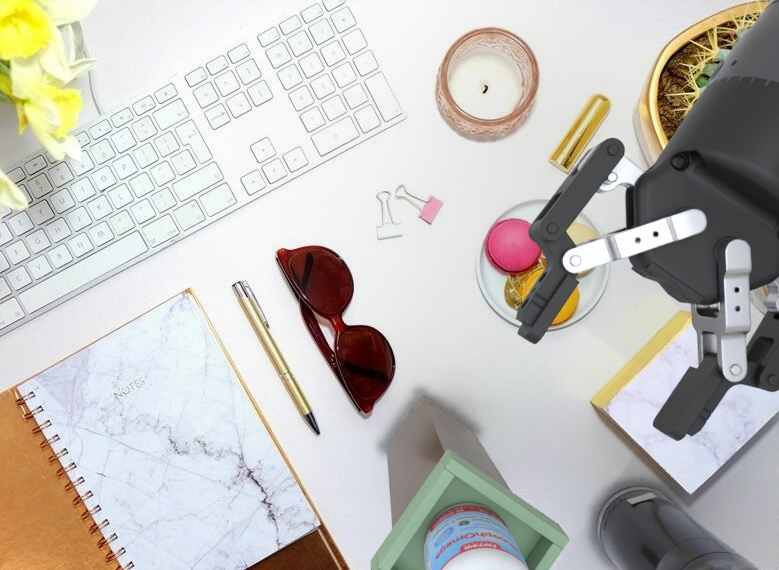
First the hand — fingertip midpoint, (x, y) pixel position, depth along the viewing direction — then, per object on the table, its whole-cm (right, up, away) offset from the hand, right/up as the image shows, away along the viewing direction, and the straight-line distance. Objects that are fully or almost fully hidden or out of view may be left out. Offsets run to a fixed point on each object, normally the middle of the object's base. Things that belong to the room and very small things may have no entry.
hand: (595, 386), depth 33 cm
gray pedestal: (-6, -12, +40) cm, 42 cm away
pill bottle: (-5, -12, +11) cm, 18 cm away
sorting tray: (-5, -13, +12) cm, 18 cm away
